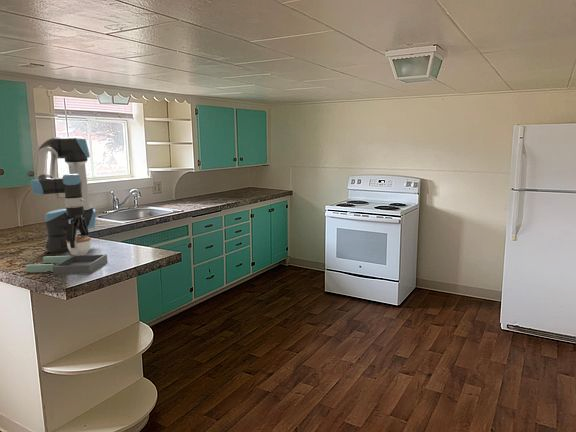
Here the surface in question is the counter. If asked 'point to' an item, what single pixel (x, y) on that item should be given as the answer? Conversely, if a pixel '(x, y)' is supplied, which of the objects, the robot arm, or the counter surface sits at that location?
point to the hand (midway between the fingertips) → (79, 251)
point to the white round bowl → (81, 245)
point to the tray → (80, 264)
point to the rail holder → (46, 266)
